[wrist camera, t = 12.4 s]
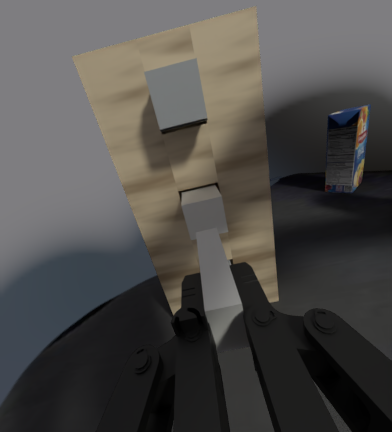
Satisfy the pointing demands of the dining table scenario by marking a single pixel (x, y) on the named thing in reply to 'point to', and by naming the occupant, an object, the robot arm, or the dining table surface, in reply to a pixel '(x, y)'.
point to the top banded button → (177, 95)
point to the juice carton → (346, 149)
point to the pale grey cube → (203, 210)
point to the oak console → (190, 143)
